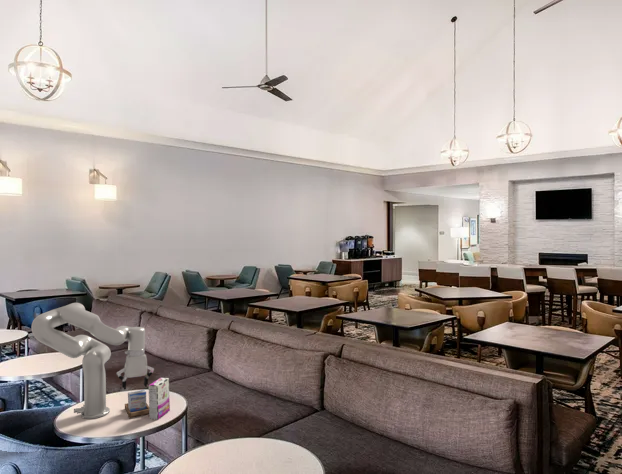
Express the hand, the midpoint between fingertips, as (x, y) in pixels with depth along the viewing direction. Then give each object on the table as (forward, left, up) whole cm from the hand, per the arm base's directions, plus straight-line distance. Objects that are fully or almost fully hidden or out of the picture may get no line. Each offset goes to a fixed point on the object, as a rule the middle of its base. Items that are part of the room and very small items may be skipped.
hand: (135, 387), depth 223 cm
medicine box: (+1, 0, -11) cm, 11 cm away
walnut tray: (+1, 0, -12) cm, 12 cm away
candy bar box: (+9, -10, -12) cm, 19 cm away
